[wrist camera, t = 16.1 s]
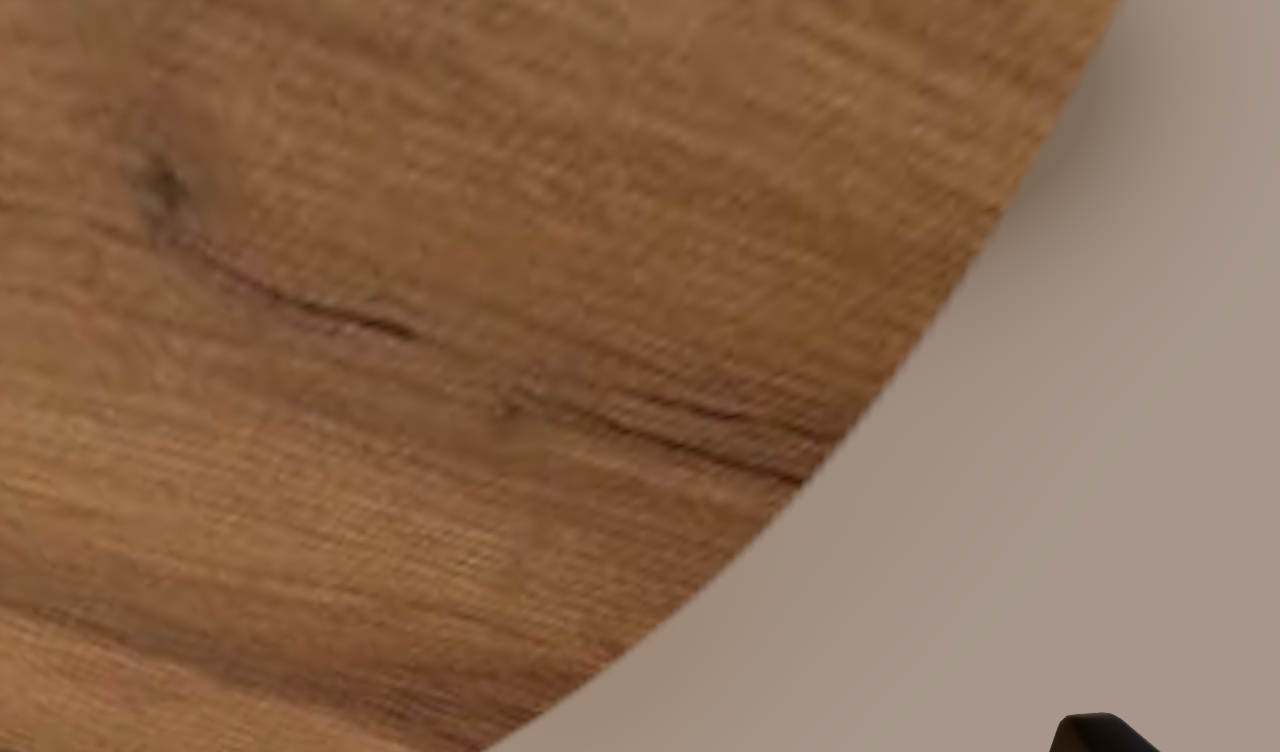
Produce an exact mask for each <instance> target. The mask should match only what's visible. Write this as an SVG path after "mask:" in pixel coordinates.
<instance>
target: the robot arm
mask: <svg viewBox="0 0 1280 752" xmlns="http://www.w3.org/2000/svg"><path fill="white" fill-rule="evenodd" d="M1049 752H1160V751H1159V750H1158V749H1156V748H1155V747H1154V746H1153V745H1151V743H1149V742H1148V741H1147V740H1146V739H1145V738H1143V737H1142V736H1141V735H1140V734H1139V733H1137V732H1136V731H1135V730H1134V729H1133V728H1131V727H1130V726H1129V725H1128V724H1127V723H1126V722H1124V721H1123V720H1121V719H1120V718H1118V717H1117V716H1115V715H1113V714H1110V713H1090V714H1076V715H1069V716H1066V717H1065V718H1064V719H1063V720H1062V721H1061V722H1060V724H1059V726H1058V728H1057V731H1056V734H1055V737H1054V740H1053V743H1052V745H1051V748H1050V751H1049Z"/></svg>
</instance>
